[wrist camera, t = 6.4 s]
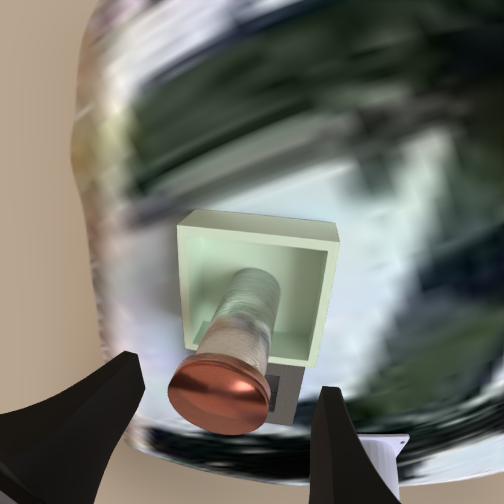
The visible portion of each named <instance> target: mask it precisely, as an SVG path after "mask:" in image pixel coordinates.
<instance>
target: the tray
mask: <svg viewBox="0 0 504 504" xmlns="http://www.w3.org/2000/svg"><path fill="white" fill-rule="evenodd" d="M177 242H178V263H179V280H180V295H181V308H182V321H183V332H184V343H185V348H186V349H191V350H196V351H197V349H198V347H199V345H200V343H201V340H202V338H203V336H204V334H205V332H206V330H207V328H208V326H209V324H210V322H211V320H212V318H213V315H214V313H215V311H216V309H217V307H218V305H219V303H220V301H221V299H222V297H223V295H224V293H225V291H226V288H227V286H228V284H229V282H230V280H231V278H232V277H233V276H234V275H235V274H236V273H237V272H239V271H240V270H243V269H246V268H258V269H262V270H265V271H267V272H268V273H270V274H271V275H272V276H274V277H275V279H276V280H277V282H278V283H279V286H280V289H281V296H280V301H279V307H278V312H277V317H276V323H275V328H274V333H273V338H272V343H271V348H270V353H269V358H268V362H270V363H277V364H285V365H294V366H303V367H312V368H315V366H316V362H317V358H318V353H319V349H320V344H321V340H322V335H323V331H324V326H325V321H326V316H327V312H328V307H329V302H330V296H331V291H332V286H333V280H334V275H335V269H336V263H337V258H338V252H339V245H340V240H339V236H338V231H337V227H336V223H330V222H321V221H312V220H303V219H294V218H285V217H275V216H265V215H255V214H244V213H234V212H223V211H211V210H199V209H195V210H194V211H193V212H192V213H190V214H189V215H188V216H187V217H186V218H185V219H183V220H182V221H181V222H180V223H179V224H178V225H177Z"/></svg>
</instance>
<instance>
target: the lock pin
mask: <svg viewBox="0 0 504 504" xmlns="http://www.w3.org/2000/svg"><path fill="white" fill-rule="evenodd" d="M280 296H281V289H280V286H279V283H278V282H277V280H276V279H275V277H274V276H272V275H271V274H270V273H268V272H267V271H265V270H262V269H258V268H246V269H243V270H240V271H239V272H237V273H236V274H235V275H234V276H233V277H232V278H231V280H230V282H229V284H228V286H227V288H226V291H225V293H224V295H223V297H222V299H221V301H220V303H219V305H218V307H217V309H216V311H215V313H214V315H213V318H212V320H211V322H210V324H209V326H208V328H207V330H206V332H205V334H204V336H203V338H202V340H201V343H200V345H199V347H198V349H197V351H196V353H195V355H192V356H190V357H188V358H186V359H185V360H183V361H182V362H181V363H180V364H179V366H178V368H177V370H176V372H175V374H174V376H173V378H172V379H171V381H170V383H169V386H168V398H169V400H170V403H171V404H172V406H173V407H174V409H175V410H176V411H177V412H178V413H179V414H180V415H181V416H182V417H183V418H185V419H186V420H187V421H189V422H190V423H192V424H194V425H196V426H198V427H200V428H202V429H205V430H208V431H211V432H215V433H220V434H228V435H237V434H245V433H249V432H252V431H254V430H256V429H258V428H259V427H260V426H262V424H263V423H264V422H265V420H266V418H267V413H268V408H269V402H270V397H271V391H270V387H269V384H268V382H267V380H266V379H265V378H264V377H265V373H266V368H267V363H268V358H269V353H270V348H271V343H272V338H273V333H274V328H275V323H276V317H277V312H278V307H279V301H280Z"/></svg>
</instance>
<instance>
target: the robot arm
mask: <svg viewBox="0 0 504 504" xmlns="http://www.w3.org/2000/svg"><path fill="white" fill-rule="evenodd" d="M144 391H145V384H144V380H143V376H142V372H141V367H140V363H139V358H138V354H135V353H131V352H128V351H124V352H122V353H120V354H119V355H118V356H116V357H115V358H113V359H112V360H110V361H109V362H108V363H106V364H105V365H103V366H102V367H101V368H99V369H98V370H96V371H95V372H93V373H92V374H90V375H89V376H87V377H86V378H84V379H83V380H81V381H79V382H78V383H76V384H74V385H73V386H71V387H69V388H68V389H66V390H64V391H62V392H61V393H59V394H57V395H55V396H53V397H50V398H48V399H46V400H44V401H42V402H39V403H37V404H34V405H31V406H28V407H26V408H23V409H19V410H16V411H12V412H8V413H4V414H0V504H94V501H95V497H96V494H97V491H98V488H99V485H100V482H101V479H102V476H103V474H104V471H105V469H106V466H107V464H108V461H109V459H110V456H111V454H112V452H113V450H114V448H115V446H116V445H117V443H118V441H119V440H120V438H121V436H122V434H123V433H124V431H125V429H126V427H127V426H128V424H129V422H130V421H131V419H132V417H133V415H134V414H135V412H136V410H137V408H138V406H139V403H140V401H141V399H142V396H143V393H144ZM408 440H409V435H408V434H357V433H356V430H355V428H354V426H353V423H352V421H351V419H350V416H349V413H348V411H347V408H346V405H345V402H344V399H343V396H342V393H341V389H340V388H339V387H328V386H322V389H321V393H320V396H319V399H318V403H317V406H316V409H315V413H314V416H313V420H312V429H311V438H310V496H309V504H401V503H400V497H399V485H398V475H397V466H396V457H397V455H398V454H399V452H400V451H401V450H402V448H403V447H404V446H405V444H406V443H407V441H408Z"/></svg>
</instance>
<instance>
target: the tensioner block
mask: <svg viewBox="0 0 504 504" xmlns="http://www.w3.org/2000/svg"><path fill="white" fill-rule="evenodd" d="M304 371H305V367H303V366H294V365H285V364H277V363H270V362H268V363H267V368H266V373H265V375H273V376H280V379H279V386H278V392H277V393H271V397H270V402H269V408H268V413H267V418H266V420H265V422H264V423H272V424H280V425H288V426H292V423H293V418H294V414H295V410H296V406H297V402H298V397H299V393H300V389H301V384H302V380H303V375H304Z"/></svg>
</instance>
